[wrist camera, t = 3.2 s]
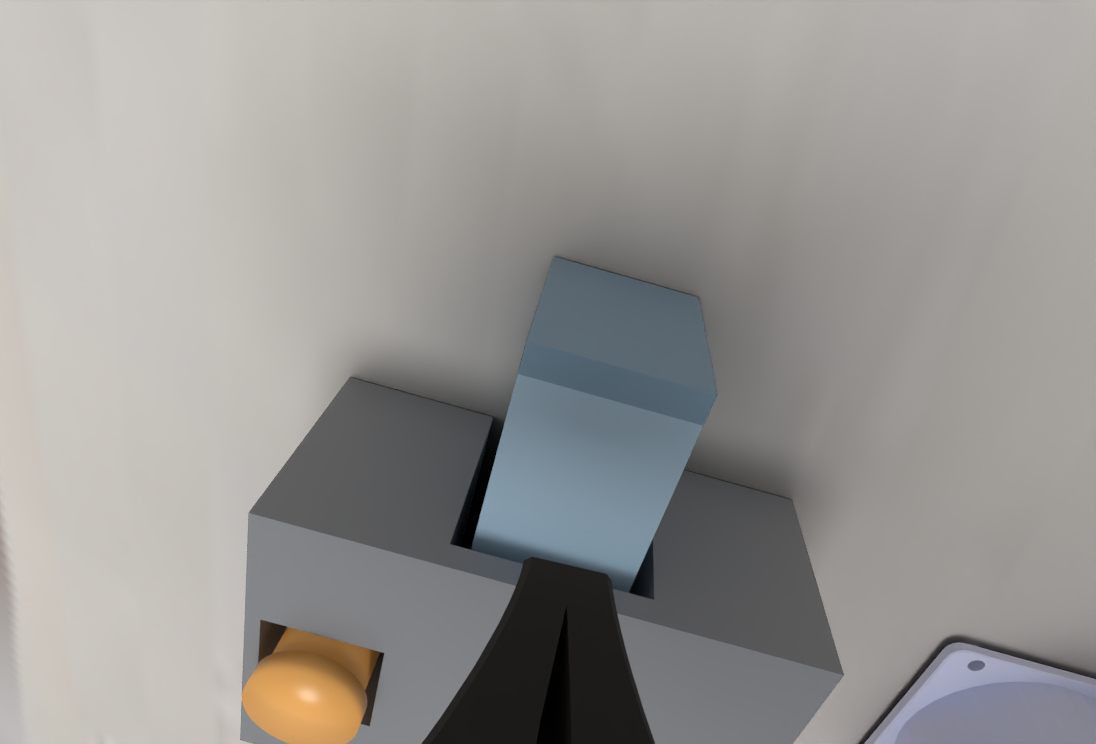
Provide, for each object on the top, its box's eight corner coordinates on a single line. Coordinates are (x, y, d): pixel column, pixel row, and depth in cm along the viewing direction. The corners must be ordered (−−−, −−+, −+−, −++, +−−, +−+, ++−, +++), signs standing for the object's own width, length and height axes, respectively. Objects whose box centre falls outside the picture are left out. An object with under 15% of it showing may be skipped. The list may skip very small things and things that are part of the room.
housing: (791, 500, 21) (843, 675, 16) (690, 679, 26) (703, 862, 20) (349, 377, 21) (249, 512, 15) (325, 580, 25) (240, 739, 20)
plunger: (419, 553, 20) (365, 691, 16) (405, 619, 22) (352, 760, 18) (321, 526, 20) (243, 658, 16) (313, 595, 22) (240, 731, 18)
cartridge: (699, 297, 18) (717, 394, 14) (571, 618, 25) (556, 753, 20) (553, 256, 18) (526, 340, 14) (463, 589, 25) (426, 718, 20)
